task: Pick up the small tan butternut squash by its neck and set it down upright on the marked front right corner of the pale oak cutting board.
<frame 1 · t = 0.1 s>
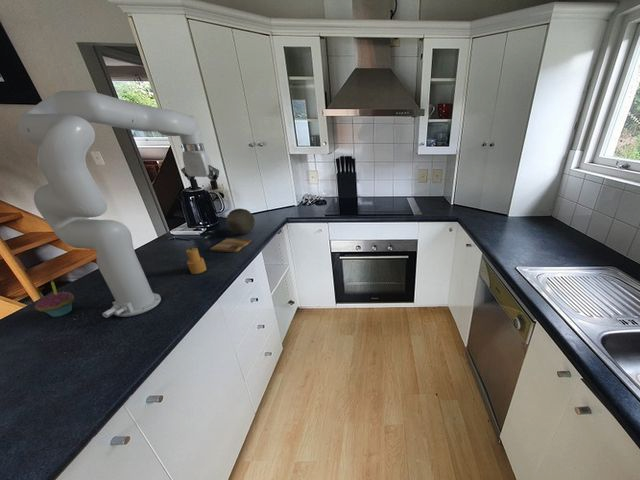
hand: (205, 189, 122), 31 cm above the worktop, tool pointing down, fingers open, 9 cm apart
cantaloupe: (244, 234, 157), on the worktop
board: (231, 246, 142), on the worktop
squash: (198, 270, 118), on the worktop
cupcake: (62, 313, 92), on the worktop
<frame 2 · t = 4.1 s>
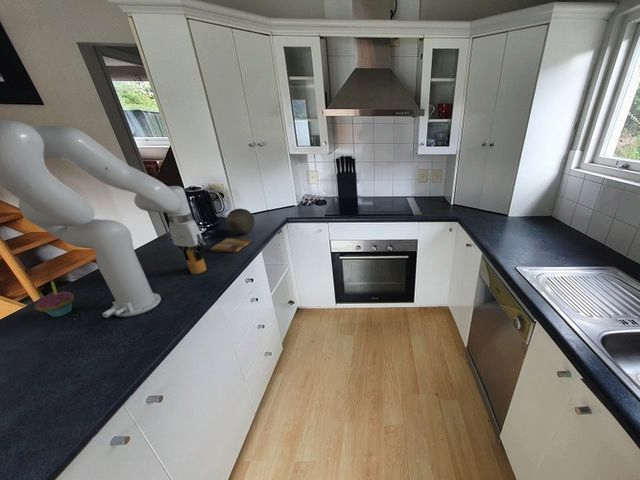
hand: (194, 258, 116), 6 cm above the worktop, tool pointing down, fingers closed on squash, 4 cm apart
squash: (198, 270, 118), on the worktop, touching gripper
everything else where it was.
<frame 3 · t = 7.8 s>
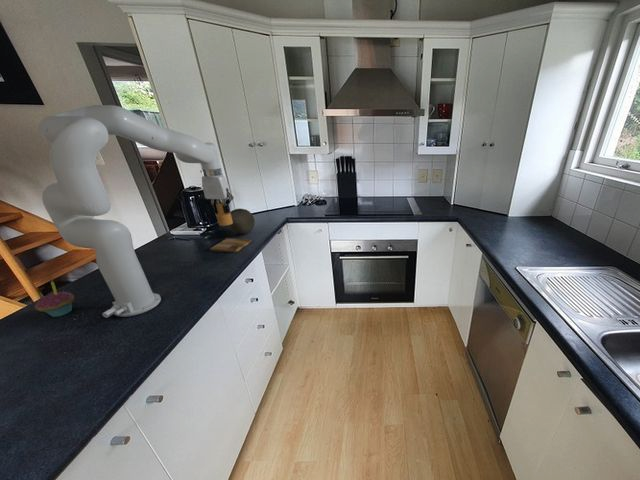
hand: (222, 212, 128), 20 cm above the worktop, tool pointing down, fingers closed on squash, 4 cm apart
squash: (225, 223, 131), point 14 cm above the worktop, touching gripper
everything else where it was.
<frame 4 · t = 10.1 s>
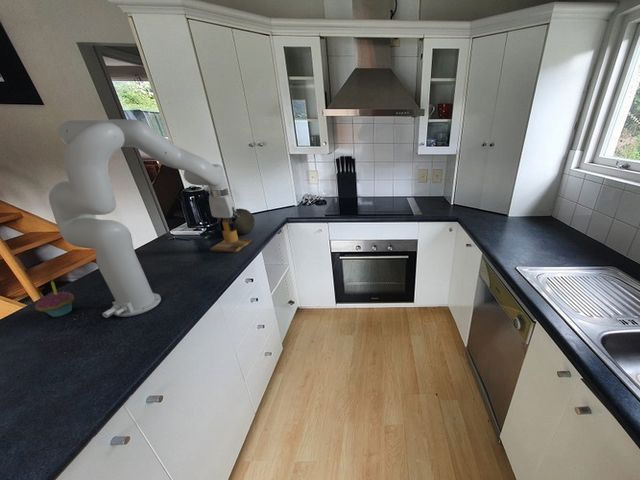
hand: (228, 229, 133), 11 cm above the worktop, tool pointing down, fingers closed on squash, 4 cm apart
squash: (231, 240, 136), point 5 cm above the worktop, touching gripper
everything else where it was.
when the fingers open (7 cm above the worktop, at t = 11.5 s): squash stays where it is, resting on board.
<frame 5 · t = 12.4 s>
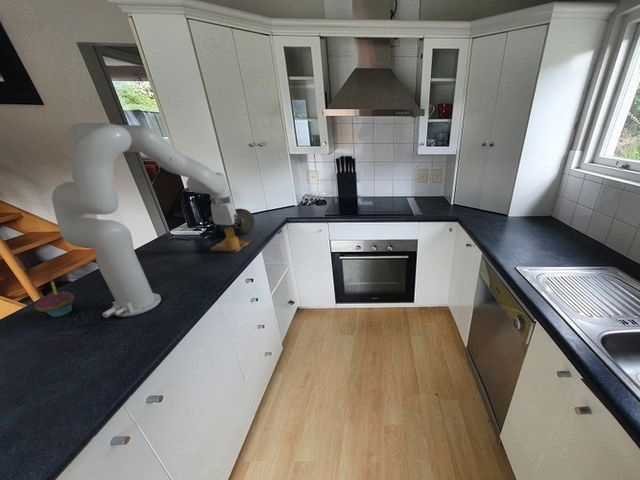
hand: (230, 234, 134), 8 cm above the worktop, tool pointing down, fingers open, 9 cm apart
squash: (233, 247, 137), point 1 cm above the worktop, touching board
everything else where it was.
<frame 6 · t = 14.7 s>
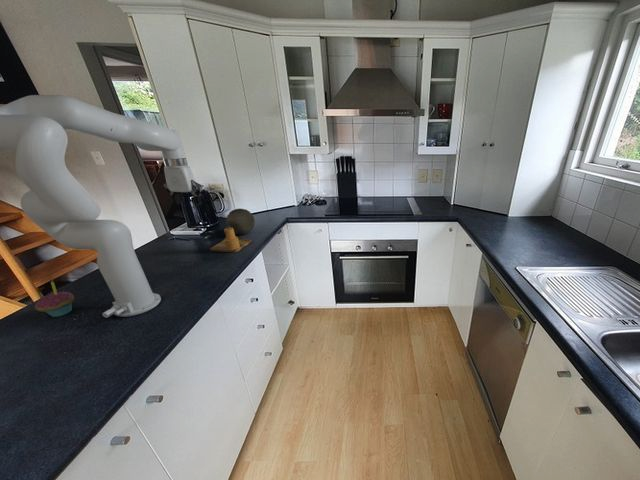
hand: (188, 204, 117), 26 cm above the worktop, tool pointing down, fingers open, 9 cm apart
nothing on the worktop moved.
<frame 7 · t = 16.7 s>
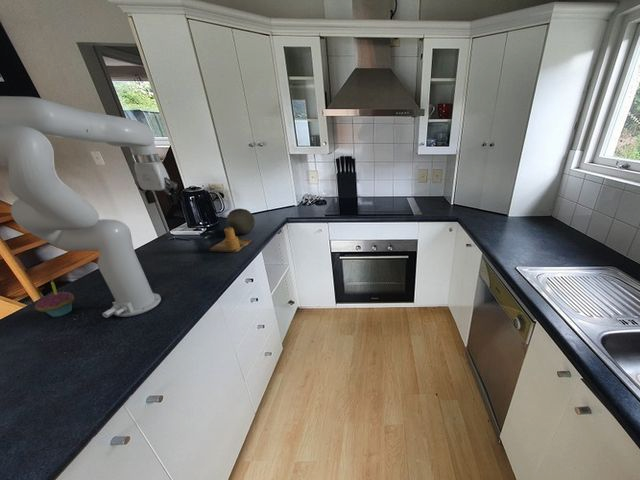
hand: (163, 203, 111), 28 cm above the worktop, tool pointing down, fingers open, 9 cm apart
nothing on the worktop moved.
at the end: squash 0.0 cm from the target spot on the board, point 1.3 cm above the board's base; squash tilted 0° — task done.
